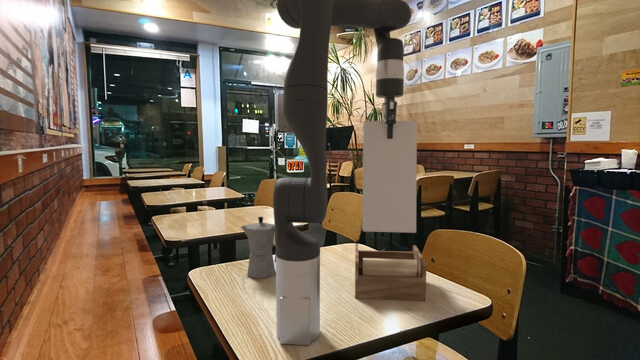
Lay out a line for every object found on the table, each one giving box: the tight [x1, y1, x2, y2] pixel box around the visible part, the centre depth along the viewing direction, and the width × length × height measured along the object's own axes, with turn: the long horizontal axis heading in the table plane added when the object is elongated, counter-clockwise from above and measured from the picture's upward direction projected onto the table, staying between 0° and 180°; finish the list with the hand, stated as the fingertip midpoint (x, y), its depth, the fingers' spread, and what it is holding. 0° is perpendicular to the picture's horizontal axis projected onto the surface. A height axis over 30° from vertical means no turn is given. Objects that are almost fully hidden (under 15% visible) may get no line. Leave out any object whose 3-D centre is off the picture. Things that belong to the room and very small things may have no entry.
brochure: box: [361, 120, 418, 234], centre depth 99 cm, size 14×6×30 cm, turn 85°
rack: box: [354, 243, 428, 302], centre depth 100 cm, size 16×18×10 cm
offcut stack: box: [363, 258, 417, 277], centre depth 96 cm, size 4×14×10 cm, turn 84°
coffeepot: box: [240, 216, 276, 280], centre depth 110 cm, size 15×9×18 cm, turn 78°
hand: (388, 140), depth 100 cm, fingers closed on brochure, 5 cm apart
